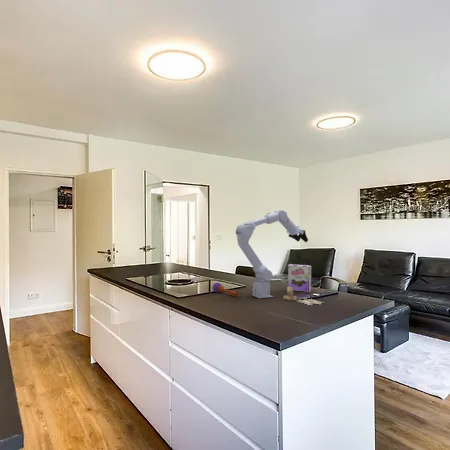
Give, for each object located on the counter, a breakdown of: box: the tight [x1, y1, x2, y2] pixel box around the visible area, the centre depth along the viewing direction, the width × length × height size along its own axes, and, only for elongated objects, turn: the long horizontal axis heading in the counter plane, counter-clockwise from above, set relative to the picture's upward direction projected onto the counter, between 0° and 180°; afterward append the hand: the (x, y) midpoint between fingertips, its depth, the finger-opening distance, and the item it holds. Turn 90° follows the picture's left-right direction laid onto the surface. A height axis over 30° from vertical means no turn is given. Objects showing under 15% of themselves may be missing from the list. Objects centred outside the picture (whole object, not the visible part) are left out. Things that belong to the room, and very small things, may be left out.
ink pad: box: [293, 294, 312, 300], centre depth 182 cm, size 8×6×2 cm
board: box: [296, 298, 324, 306], centre depth 171 cm, size 10×10×1 cm
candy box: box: [287, 263, 312, 293], centre depth 203 cm, size 14×6×16 cm, turn 62°
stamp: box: [283, 286, 297, 302], centre depth 177 cm, size 5×5×7 cm
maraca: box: [212, 282, 240, 298], centre depth 190 cm, size 6×6×20 cm
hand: (303, 240), depth 197 cm, fingers open, 7 cm apart
